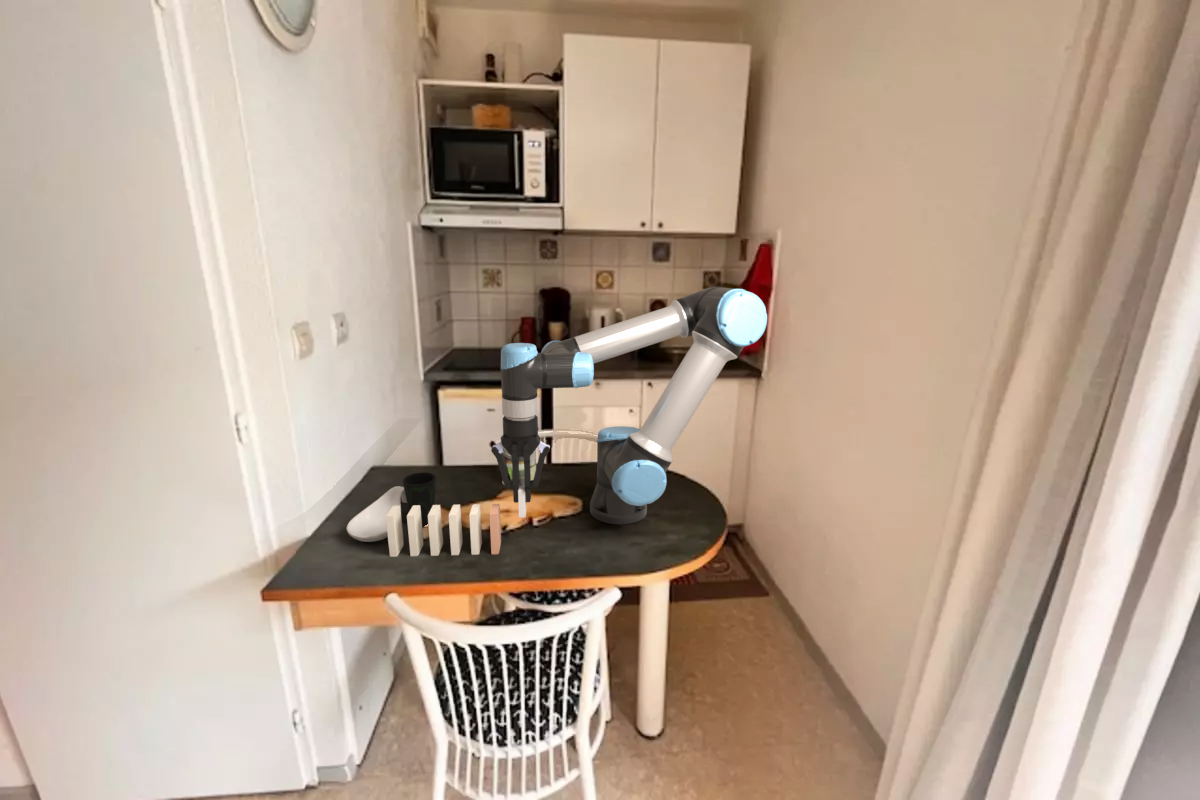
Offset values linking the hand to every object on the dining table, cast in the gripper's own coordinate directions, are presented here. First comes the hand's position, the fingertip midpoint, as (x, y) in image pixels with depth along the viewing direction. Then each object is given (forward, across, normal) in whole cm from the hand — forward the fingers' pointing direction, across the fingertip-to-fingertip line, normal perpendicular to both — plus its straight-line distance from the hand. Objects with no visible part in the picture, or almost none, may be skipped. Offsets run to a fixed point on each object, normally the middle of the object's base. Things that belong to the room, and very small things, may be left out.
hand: (522, 514), depth 119 cm
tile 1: (+9, +11, 0) cm, 14 cm away
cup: (+9, +26, -13) cm, 30 cm away
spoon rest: (+9, +35, -13) cm, 38 cm away
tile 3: (+9, +20, 0) cm, 21 cm away
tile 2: (+9, +15, 0) cm, 17 cm away
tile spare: (+9, +6, 0) cm, 11 cm away
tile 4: (+9, +24, 0) cm, 26 cm away
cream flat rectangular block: (+9, +29, 0) cm, 30 cm away
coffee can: (+9, +4, -37) cm, 38 cm away
